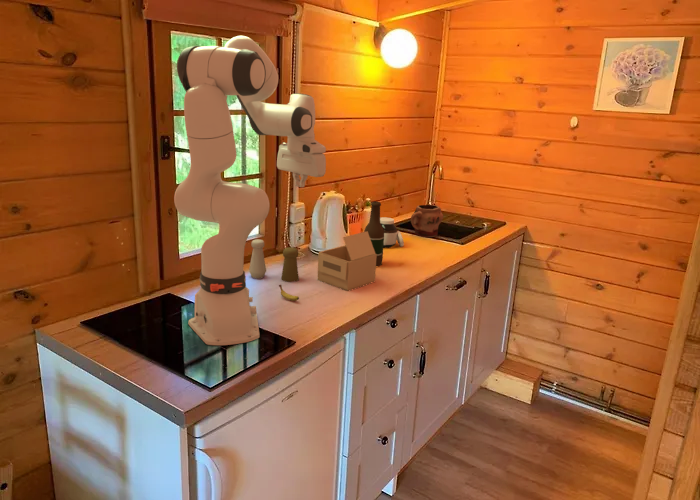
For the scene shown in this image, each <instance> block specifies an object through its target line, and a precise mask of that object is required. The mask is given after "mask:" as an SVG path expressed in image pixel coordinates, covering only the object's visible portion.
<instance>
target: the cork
mask: <svg viewBox="0 0 700 500" xmlns="http://www.w3.org/2000/svg"><path fill="white" fill-rule="evenodd" d="M282 256H283V258H284V259H283V265H282V272H281V278H280V280H281V281H283V282H285V283H287V282H288V283H293V282H298V281H299V279H300V277H299V276H300V275H299V267H298V260H297V258H298V256H299V250H298V249H297V248H296V247H291V246H290V247H285V248H283V251H282Z"/></svg>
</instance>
